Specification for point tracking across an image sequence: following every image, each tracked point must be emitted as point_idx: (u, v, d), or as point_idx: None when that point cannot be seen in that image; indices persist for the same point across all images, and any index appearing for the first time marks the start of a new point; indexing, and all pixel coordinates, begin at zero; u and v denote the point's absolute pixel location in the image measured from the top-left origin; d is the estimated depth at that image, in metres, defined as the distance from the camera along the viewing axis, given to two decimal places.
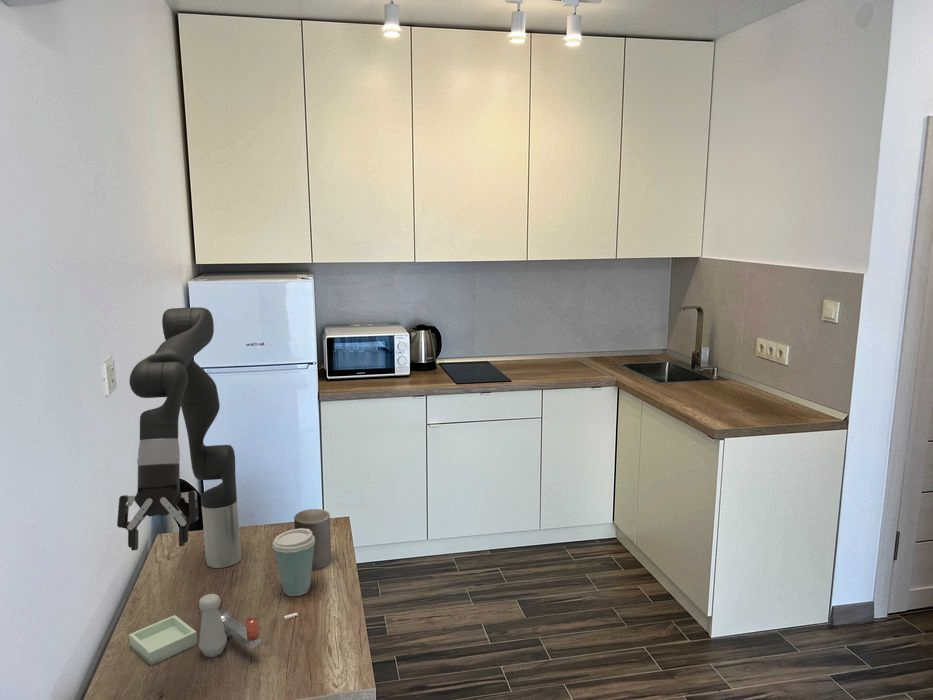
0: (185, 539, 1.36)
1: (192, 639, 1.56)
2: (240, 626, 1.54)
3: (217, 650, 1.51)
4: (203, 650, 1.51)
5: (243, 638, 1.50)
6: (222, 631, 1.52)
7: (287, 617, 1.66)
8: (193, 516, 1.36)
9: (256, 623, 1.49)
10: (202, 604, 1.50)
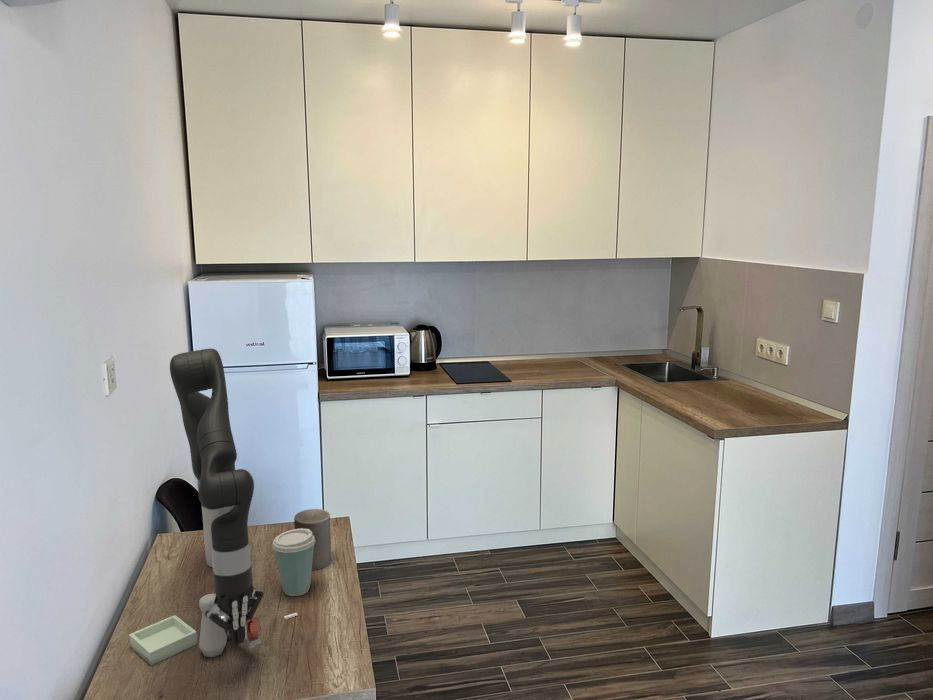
0: (244, 635, 1.47)
1: (192, 639, 1.56)
2: None
3: (217, 650, 1.51)
4: (203, 650, 1.51)
5: None
6: (222, 631, 1.52)
7: (287, 617, 1.66)
8: (250, 614, 1.47)
9: (256, 623, 1.49)
10: (202, 604, 1.50)
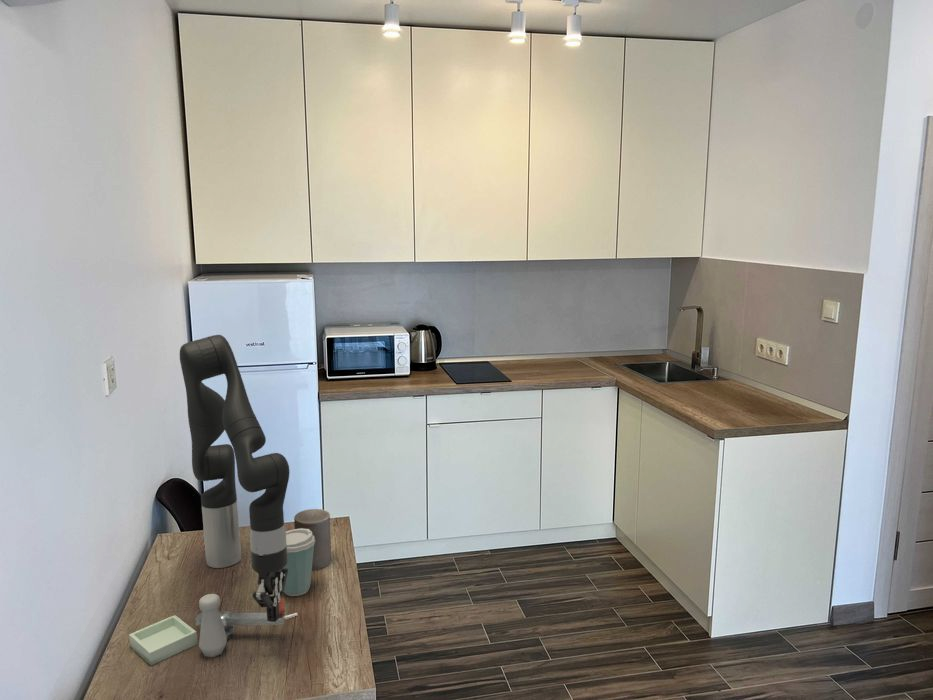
0: None
1: (192, 639, 1.56)
2: (254, 614, 1.59)
3: (217, 650, 1.51)
4: (203, 650, 1.51)
5: None
6: (222, 631, 1.52)
7: (287, 617, 1.66)
8: (282, 591, 1.56)
9: (283, 599, 1.58)
10: (202, 604, 1.50)
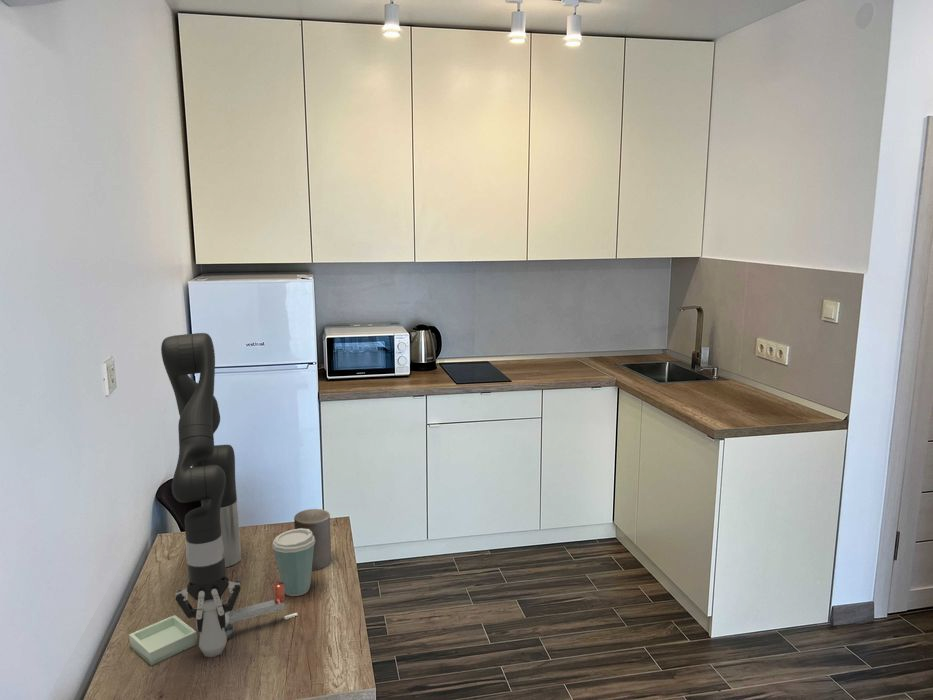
0: (224, 625, 1.53)
1: (192, 639, 1.56)
2: (253, 606, 1.62)
3: (217, 650, 1.51)
4: (203, 650, 1.51)
5: (273, 606, 1.63)
6: (222, 631, 1.52)
7: (287, 617, 1.66)
8: (230, 606, 1.52)
9: None
10: None
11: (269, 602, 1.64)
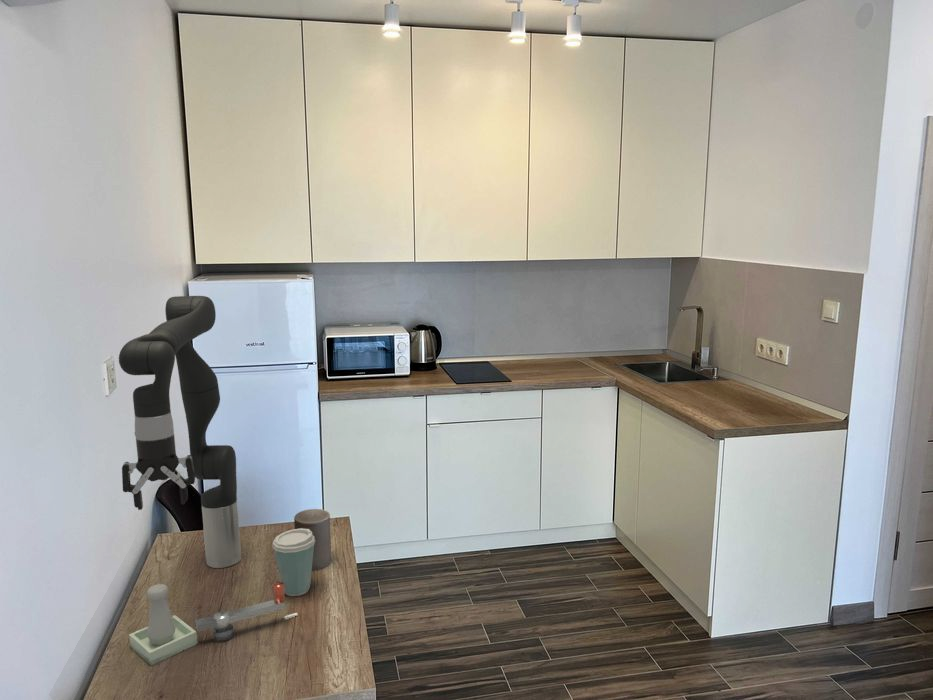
0: (186, 498, 1.53)
1: (192, 639, 1.56)
2: (253, 606, 1.62)
3: (165, 639, 1.54)
4: (151, 639, 1.53)
5: (273, 606, 1.63)
6: (170, 621, 1.55)
7: (287, 617, 1.66)
8: (192, 479, 1.52)
9: None
10: (150, 594, 1.52)
11: (269, 602, 1.64)
